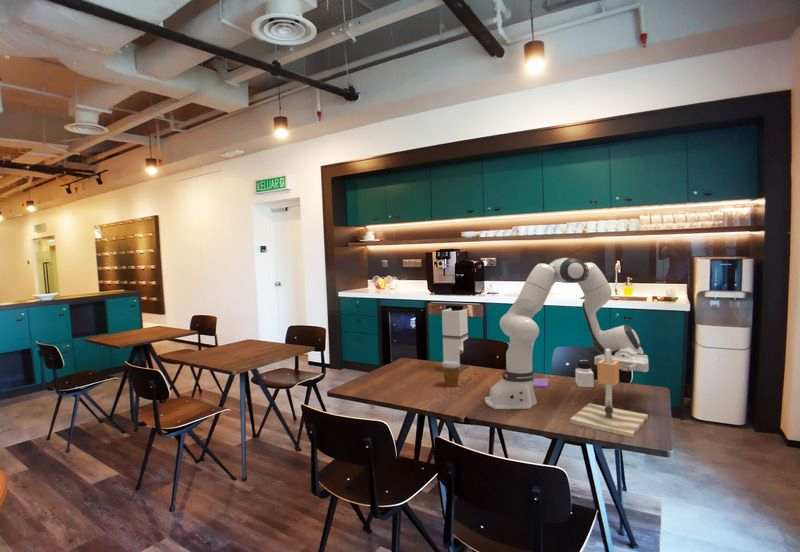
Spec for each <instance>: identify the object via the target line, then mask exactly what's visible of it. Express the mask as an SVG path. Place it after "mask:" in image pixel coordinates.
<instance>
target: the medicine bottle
mask: <svg viewBox="0 0 800 552" xmlns="http://www.w3.org/2000/svg"><path fill="white" fill-rule="evenodd" d="M574 373H575V384H576V385H577V386H578V387H579V388H594V387H595V374H594V373H595V372H593V370H592V362H591V361H590V360H586V359H581V360H579V361H577V368H575V372H574ZM578 387H577V388H578Z"/></svg>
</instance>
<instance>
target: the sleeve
mask: <svg viewBox="0 0 800 552" xmlns="http://www.w3.org/2000/svg"><path fill="white" fill-rule="evenodd" d="M596 366H597V368H596V369H597V384H602V385H605V384H606V385H612V387H614V386H617V384H618V383H620V369H619V361H612V364H610V363H605V360H603V359H602V360H601V361H599V362H598V363H597V365H596Z"/></svg>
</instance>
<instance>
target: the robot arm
mask: <svg viewBox="0 0 800 552" xmlns="http://www.w3.org/2000/svg"><path fill="white" fill-rule="evenodd" d="M556 282H557V283H561V284H562V283H563V284H574V283H575V284H576V283H577V284H578V286H579V287H580V289H581V291H582V294H583V296H584V301H583V302H582V305H581V306H582V313H583V315H584V318H585V320H586V324H587V329H588V330H589V333H590V338H591V341H592V342H591V343H592V345H593V348H594V350H595V351H596V352H597V353H600V354H598V355H595V356H594V361H593V362H594V363H593V364H594V365H596V366H597V363H598V362H599V361H601V360H602V359H603V360H605V349H611V352H612V353H613V352H615V353H614V355H612V361H619V371H624V372H633V371H635V372H636V371H637V372H642V373H647V372H649V367H650V366H649V356H648V355H647V354H645V353H644V350H643V348H642V347H641V339H640V336H639V334H638V333H637V331H636V330H635V329H634V328H633V327H631V326H629V325H627V324H623V325H620V326H616V327H612V328H610V329H607V330H602V329H601V327H600V324H599V321H598V318H597V312H598V311H599V310H600V309H601V308H602V307H603V306H605V305H606V304H607V303H608V302H609V300H610V299H611V297H612V294H613V293H612V289H611V286H610V284H609V282H608V280H607V279H606V276H605V275H604V273H603V271H601V269H600V268H599V267H598V265H596V263H594V262H591V261H590V262H583V261H582V260H580V259H578V258H574V257H569V258H568V257H562V258H556V259H554V260H551V261H550V262H549V263H548V264H547V263H542V262H541V263H537V264H536V265H535V266H534V267H533V269H532V270H531V271H530V273H529V275H528V276H527V278H526V280H525V282H524V285H523V286H522V288H521V291H520V293H519V294H518V296H517V298H516V300H515V301H514V303H513V304H512V305H511V306H510V308H509V309H508V311H507V312H506V313H505V314H504V315H502V316H501V317H500V320H499V326H500V329H501V331H502V332H503V334H505V335H506V336H507V337H509V343H508V348H507V350H506V353H505V356H506V358H505V360H506V362H505V363H506V364H505V365H506V367H505V368H506V369H505V370H502V369H499V371H498V374H499V375H500V376H502V378H501V379H500V380H499V381H498V382H495V384H494V385H492V386H491V387H490V390H489V396H486V397H484V403H485V404H486V405H487V406H488V407H490V408H491V409H494V410H530V409H532V408H533V406H536V405H537V403H538V401H537V398H536V393H535V389H534V388H533V381H534V377H535V376H534V370H533V352H534V351H533V350H534V349H533V348H534V346H535V341H536V340H537V338H538V337H539V335H540V328H539V326H538V324H537V323H536V321H534V320H533V317H534V316H535V315H536V314H537V313H538V312H539V311H540V310H541V309H542V308H543V306H544V304H545V303H546V301H547V298H548V296H549V294H550V291H551V289H552V287H553V286H554V285H555V283H556Z"/></svg>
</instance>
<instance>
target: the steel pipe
mask: <svg viewBox="0 0 800 552" xmlns="http://www.w3.org/2000/svg"><path fill="white" fill-rule="evenodd" d="M612 353H613V351H612V352H611V349H605V354H604V355H605V363H610V364H612ZM604 397H605V398H604V406H605V417H607V418H612V413H613V408H614V407H613V386H612V385H606V384H604Z"/></svg>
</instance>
